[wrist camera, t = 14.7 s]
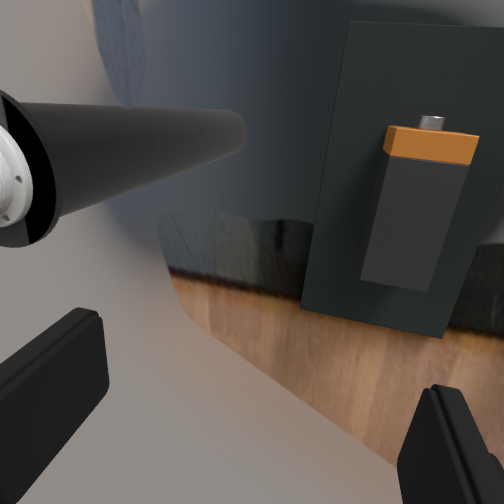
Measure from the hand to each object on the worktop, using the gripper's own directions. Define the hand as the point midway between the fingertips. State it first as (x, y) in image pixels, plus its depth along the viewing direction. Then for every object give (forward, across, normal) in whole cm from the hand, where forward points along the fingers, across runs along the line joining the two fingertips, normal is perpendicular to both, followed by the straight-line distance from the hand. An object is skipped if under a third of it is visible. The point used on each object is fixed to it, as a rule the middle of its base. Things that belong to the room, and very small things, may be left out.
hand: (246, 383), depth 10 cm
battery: (+19, -7, -2) cm, 20 cm away
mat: (+20, -7, -2) cm, 22 cm away
